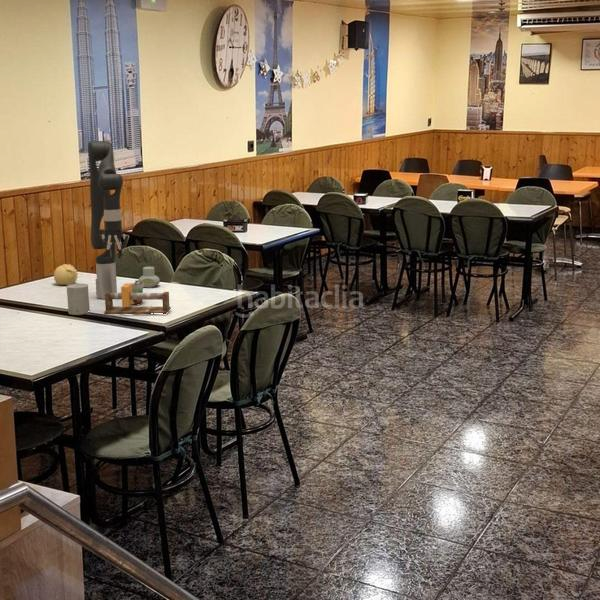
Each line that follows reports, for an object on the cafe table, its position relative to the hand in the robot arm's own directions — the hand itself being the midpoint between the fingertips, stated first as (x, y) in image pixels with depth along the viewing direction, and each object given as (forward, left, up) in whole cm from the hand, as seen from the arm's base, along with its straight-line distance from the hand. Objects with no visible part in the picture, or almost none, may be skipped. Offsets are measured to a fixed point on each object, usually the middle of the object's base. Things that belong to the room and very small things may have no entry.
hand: (115, 257), depth 384 cm
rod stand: (+9, 0, -25) cm, 27 cm away
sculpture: (-43, +60, -26) cm, 78 cm away
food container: (+5, +17, -25) cm, 31 cm away
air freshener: (+2, +55, -26) cm, 61 cm away
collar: (+5, 0, -22) cm, 22 cm away
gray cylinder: (-18, 0, -25) cm, 31 cm away
